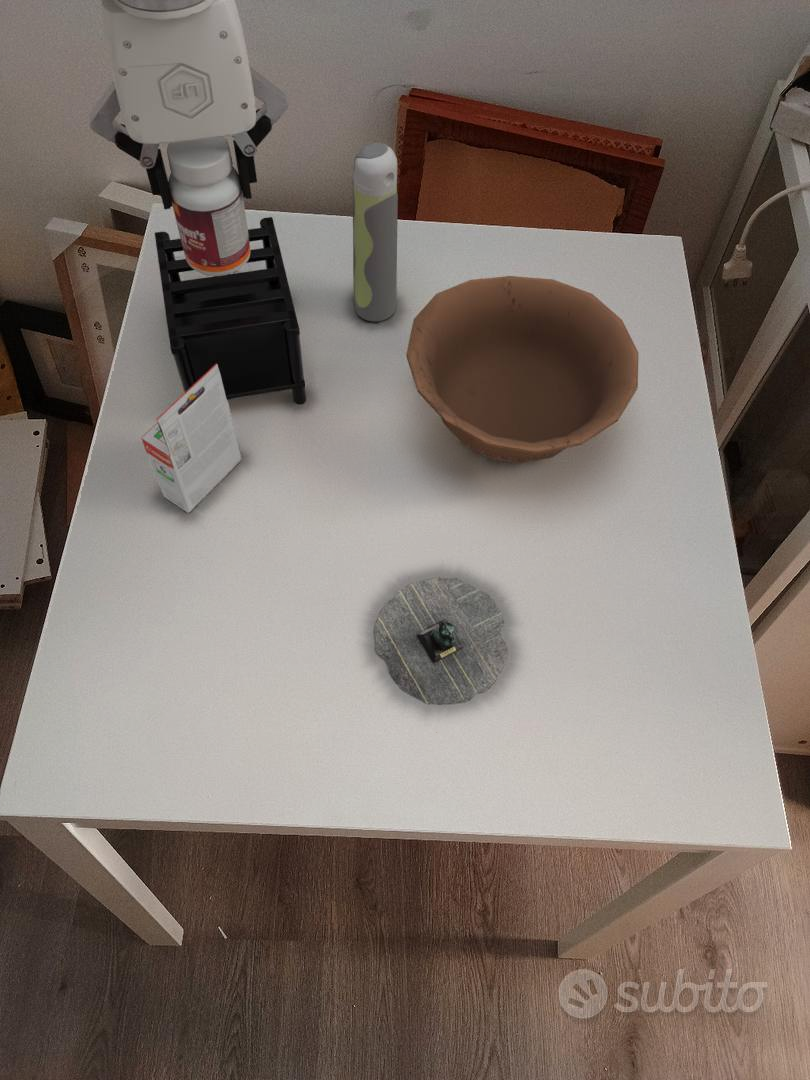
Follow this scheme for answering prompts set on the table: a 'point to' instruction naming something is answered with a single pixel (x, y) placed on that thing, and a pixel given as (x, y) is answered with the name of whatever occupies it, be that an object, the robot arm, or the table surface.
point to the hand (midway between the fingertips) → (206, 192)
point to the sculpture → (441, 640)
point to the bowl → (522, 365)
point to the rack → (234, 321)
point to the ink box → (193, 443)
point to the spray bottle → (375, 232)
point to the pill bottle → (208, 206)
